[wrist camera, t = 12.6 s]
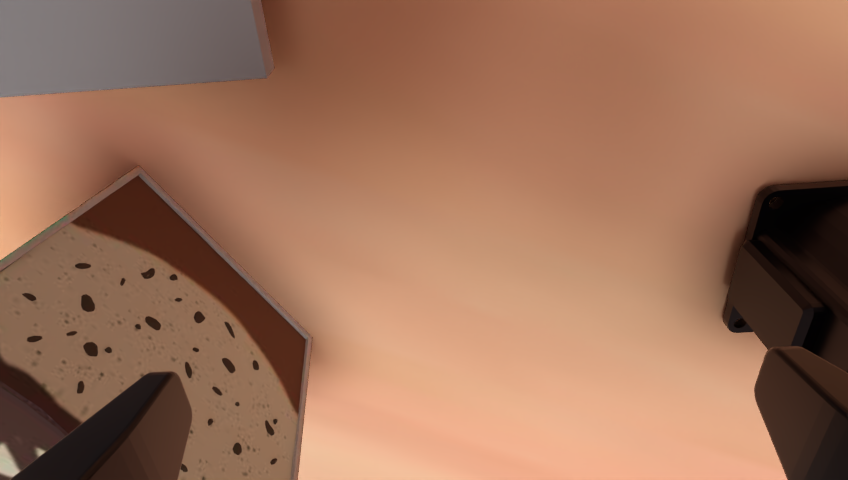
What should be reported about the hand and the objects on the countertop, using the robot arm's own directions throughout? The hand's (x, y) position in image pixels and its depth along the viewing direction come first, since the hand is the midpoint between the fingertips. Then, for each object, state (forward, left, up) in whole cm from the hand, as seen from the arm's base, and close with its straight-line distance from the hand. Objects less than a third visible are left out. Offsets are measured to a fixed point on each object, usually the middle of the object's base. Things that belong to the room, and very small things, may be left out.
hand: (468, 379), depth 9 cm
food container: (+11, +6, -12) cm, 17 cm away
